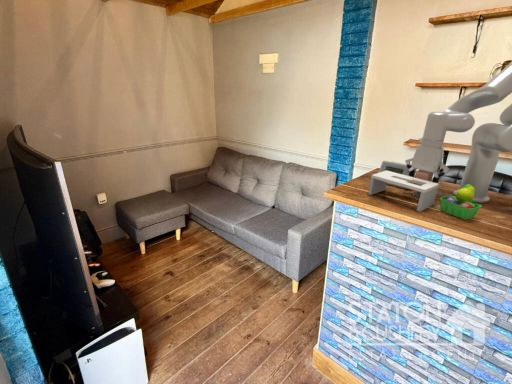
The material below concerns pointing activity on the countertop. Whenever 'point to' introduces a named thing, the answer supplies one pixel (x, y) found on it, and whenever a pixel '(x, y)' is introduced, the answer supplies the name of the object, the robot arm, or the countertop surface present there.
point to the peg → (424, 176)
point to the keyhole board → (426, 189)
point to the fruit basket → (461, 203)
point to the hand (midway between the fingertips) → (421, 182)
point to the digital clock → (395, 170)
